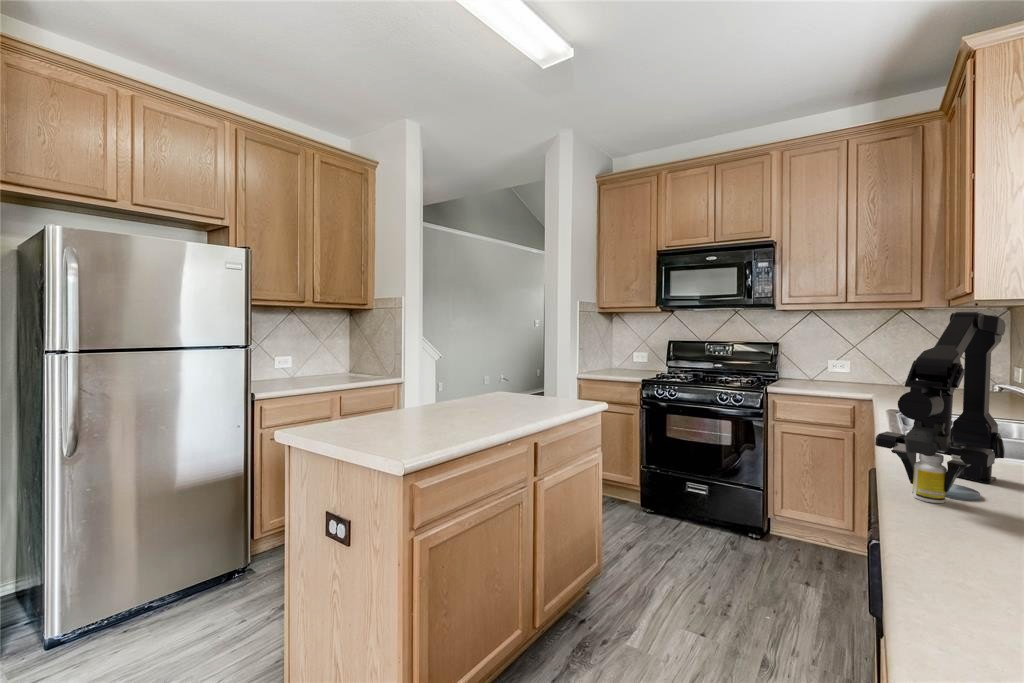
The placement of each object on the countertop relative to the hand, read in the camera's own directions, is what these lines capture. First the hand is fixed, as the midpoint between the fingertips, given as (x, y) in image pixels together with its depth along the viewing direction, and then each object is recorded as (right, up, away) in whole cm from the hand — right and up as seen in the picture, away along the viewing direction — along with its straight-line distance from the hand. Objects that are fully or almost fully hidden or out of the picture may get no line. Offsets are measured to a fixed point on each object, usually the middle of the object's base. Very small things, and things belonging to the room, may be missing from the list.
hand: (929, 487), depth 106 cm
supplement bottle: (0, -3, 0) cm, 3 cm away
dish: (+9, -3, +4) cm, 10 cm away
